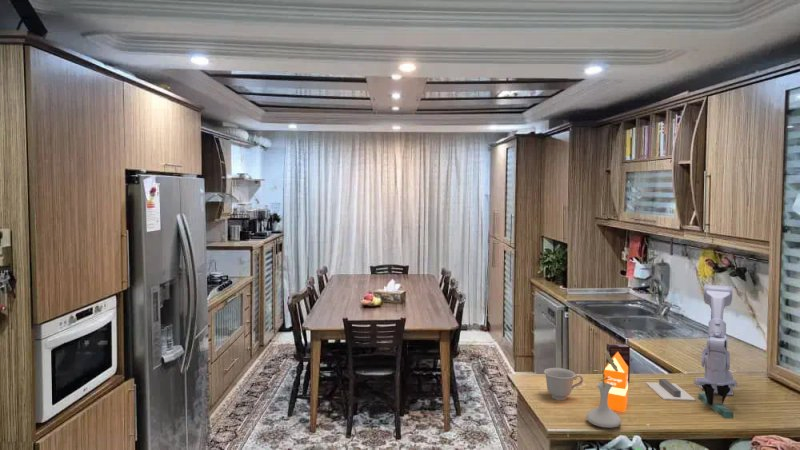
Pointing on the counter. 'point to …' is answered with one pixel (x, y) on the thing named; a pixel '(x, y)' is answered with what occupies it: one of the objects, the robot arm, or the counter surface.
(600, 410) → the flower in vase
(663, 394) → the ridge board
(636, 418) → the counter surface
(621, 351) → the supplement box
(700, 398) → the bar
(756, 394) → the counter surface
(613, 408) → the orange juice
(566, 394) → the teacup
